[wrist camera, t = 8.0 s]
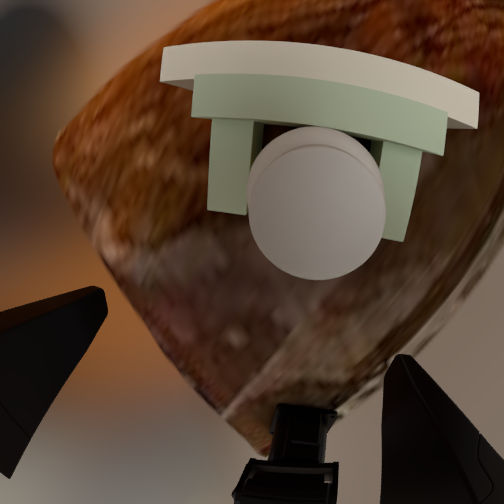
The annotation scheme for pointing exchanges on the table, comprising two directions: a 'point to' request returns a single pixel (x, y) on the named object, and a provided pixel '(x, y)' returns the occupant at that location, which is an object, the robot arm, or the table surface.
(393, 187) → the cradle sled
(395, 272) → the table surface
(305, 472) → the robot arm
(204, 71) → the backstop wall
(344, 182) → the supplement bottle
